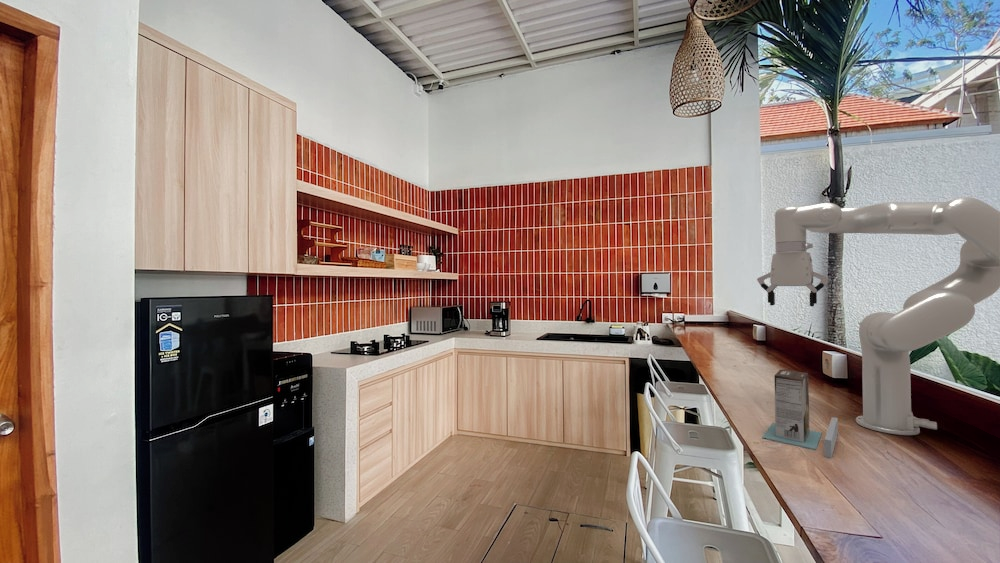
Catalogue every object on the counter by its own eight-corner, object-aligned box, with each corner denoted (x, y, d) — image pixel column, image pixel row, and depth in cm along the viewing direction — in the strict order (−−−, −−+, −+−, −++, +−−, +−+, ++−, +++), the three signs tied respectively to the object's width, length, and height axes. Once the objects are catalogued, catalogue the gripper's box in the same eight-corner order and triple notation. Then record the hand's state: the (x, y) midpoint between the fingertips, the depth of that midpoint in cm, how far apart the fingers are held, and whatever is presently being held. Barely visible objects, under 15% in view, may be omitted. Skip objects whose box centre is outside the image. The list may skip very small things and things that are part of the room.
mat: (821, 433, 105) (821, 432, 105) (815, 450, 95) (815, 448, 95) (772, 423, 113) (772, 422, 113) (762, 438, 103) (762, 437, 103)
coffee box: (781, 426, 110) (780, 368, 110) (810, 432, 105) (809, 372, 105) (774, 436, 103) (773, 374, 103) (805, 443, 99) (804, 378, 99)
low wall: (838, 433, 106) (837, 418, 106) (831, 458, 91) (831, 440, 91) (832, 432, 106) (831, 417, 106) (824, 456, 92) (824, 439, 92)
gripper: (829, 247, 115) (830, 305, 115) (759, 251, 127) (760, 304, 127) (826, 245, 110) (827, 307, 110) (754, 250, 122) (755, 305, 122)
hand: (791, 305), depth 119 cm, fingers open, 9 cm apart
